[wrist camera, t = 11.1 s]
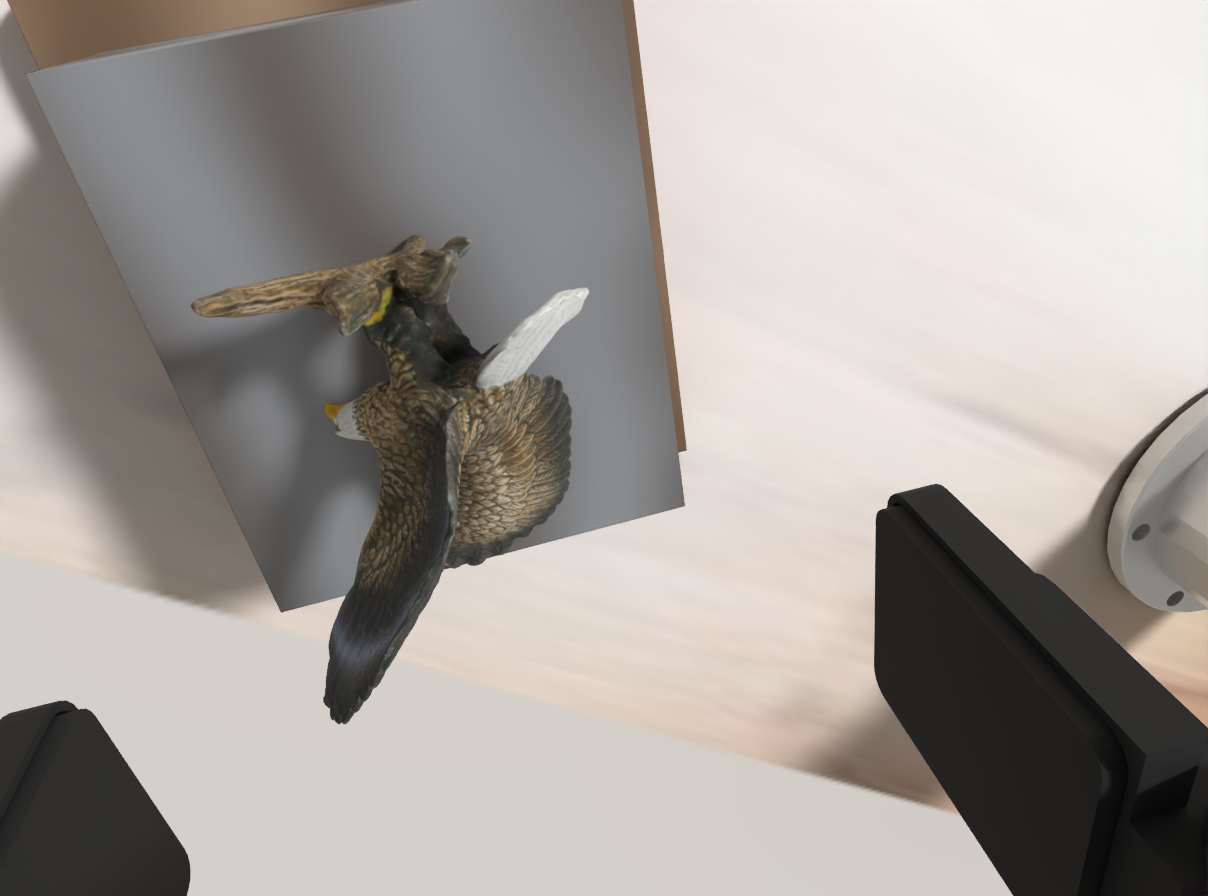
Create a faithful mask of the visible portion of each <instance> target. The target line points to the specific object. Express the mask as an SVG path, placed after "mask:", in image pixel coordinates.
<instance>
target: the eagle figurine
mask: <svg viewBox="0 0 1208 896" xmlns="http://www.w3.org/2000/svg"><path fill="white" fill-rule="evenodd" d="M425 246H426V240H425V238H424V237H422V236H420V235H412V236H410V237H409V239H408V240H407V242H406V244H405V246H404V247H403V248H402V249H401V250H400V251H398V252H396V253H393V254H389V255H385V256H379V257H375V258H371V259H369V260H366V261H362V262H359V263H356V264H352V265H348V266H342V267H332V268H325V269H319V270H313V271H308V272H303V273H298V274H294V275H289V276H285V277H280V278H275V279H271V280H267V281H262V282H258V283H253V284H249V285H244V286H239V287H233V288H228V289H225V290H222V291H219V292H217V293H214V294H211V295H209V296H205V297H202V298H199V299H197V300H195V301H194V302H192V303H191V306H190V307H191V308H192V310H193V311H194V312H195V313H196V314H198V315H199V316H202V317H205V318H212V317H225V318H242V317H249V316H256V315H262V314H265V313H281V312H288V311H290V310H293V309H295V308H300V307H311V308H314V309H320V310H324V311H325V312H327V313H329V314H330V315H332V316H334V317H335V318H336V319H337V320H339V332H340V334H341V335H342V336H343V337H348V336H350V335H351V334H352V333H353V332H355V331H357V330H358V329H359V328H360V327H361V326H362V328H363V330H364V331H365V334H366V336H367V339H368V341H369V342H370V343H371V344H372V345H374V346H375V347H377V348H378V349H379V350H380V351H381V352H383V354H384V355H385V356H386V362H387V367H388V369H389V372H390V379H388V380H385V381H382V382H380V383H378V384H376V385H374V386H372V387H370V388H368V389H367V390H366V391H365V392H364V393H363V394H362V395H361V396H360V397H358V398H357V399H355V400H354V401H351V402H347V403H345V404H343V405H333V404H331V403H328V402H327V403H325V404H324V411H325V413H326V414H327V415H328V417H329V418H330V419H331V420H332V421H333V422H334V423H335V424H336V428H335V433H336V434H337V435H338V436H341V437H344V438H348V439H354V440H366V441H370V442H371V444H372V445H373V446H374V448H375V449H376V451H377V453H378V456H379V459H380V484H381V487H380V497H379V503H378V508H377V512H376V515H375V518H374V521H373V523H372V526H371V528H370V530H369V532H368V534H367V536H366V538H365V541H364V543H363V546H362V548H361V552H360V556H359V560H358V566H357V571H356V576H355V581H354V585H353V586H352V587H351V589H350V590H349V592H348V593H347V595H346V597H345V599H344V601H343V603H342V605H341V607H340V610H339V613H338V615H337V618H336V620H335V622H334V625H333V628H332V631H331V635H330V640H329V654H330V660H329V663H328V669H327V677H326V689H325V696H324V698H323V699H324V703H325V705H326V706H327V707H328V708H330V716H331V719H332V720H335V721H336V722H337V723H338V724H341V723H343V724H346V723H347V722H348V721H349V720H350V719H351V717H352V716H353V714H354V713H356V712H357V711H359V709H360V708H361V706H362V704H363V702H365V701H366V700H367V699H368V698H369V696H370V695H371V692H372V690H373V689H374V688H375V687H377V686H378V685H379V683H380V682H381V680H382V678H383V676H384V674H385V671H386V670H387V668H388V667H389V666H390V664H391V663H392V661H393V659H394V658H395V656H396V655H397V653H398V651H399V649H400V648H401V646H402V644H403V642H404V640H405V639H406V637H407V636H408V634H409V633H410V631H411V630H412V628H413V627H414V625H415V623H416V621H417V619H418V616H419V614H420V613H421V612H422V610H423V609H424V608H425V606H426V605H427V603H428V601H429V599H430V597H431V595H432V592H433V590H434V588H435V587H436V585H437V584H438V582H439V579H440V576H441V573H442V572H443V569H444V567H445V565H446V566H448V567H450V568H454V569H455V568H457V567H459V566H461V565H462V564H463V563H467V564H469V565H471V566H476V565H479V564H481V563H483V562H484V561H485V560H486V559H487V557H488V556H490V555H491V554H494V555H503V554H505V553H506V552H507V551H508V550H509V548H510V547H511V546H512V544H513V542H514V539H515V537H527V536H529V535H530V534H531V532H532V529H533V527H534V526H537V525H541V524H543V523H545V522H546V521H547V519H548V517H549V516H551V515H552V514H553V513H554V511H555V509H556V505H558V504H560V503H561V502H562V500H563V498H564V492H566V491H567V490H568V488H569V481H568V478H569V477H570V469H571V462H570V461H569V460H568V459H569V458H570V456H571V448H570V446H571V442H572V438H571V436H570V434H569V432H570V430H571V426H572V419H571V415H572V407H571V406H570V404H569V398H568V396H567V395H566V394H565V393H564V392H563V385H562V382H561V381H560V380H559V379H554V377H553V376H552V375H547V376H546V377H544V378H543V379H542V378H541V377H540V376H539V375H537V374H531V375H530V376H527V373H526V370H527V369H528V367H529V366H530V365H531V364H532V363H533V361H534V360H535V359H536V358H537V356H538V355H539V354H540V353H541V351H542V350H543V349H544V348H545V346H546V345H547V344H548V342H549V341H550V340H551V339H552V337H553V336H554V335H555V333H556V332H557V331H558V330H559V328H560V327H561V326H563V325H564V324H566V323H567V322H568V321H570V320H571V319H572V318H573V317H575V316H576V315H577V314H578V313H579V312H580V311H581V308H582V306H583V303H584V300H585V299H586V297H587V295H588V294H589V290H588V288H587V287H586V288H576V289H573V290H565V291H561V292H558V293H556V294H554V295H553V296H551V297H550V298H549V299H547V301H546V302H545V303H544V304H543V305H542V306H541V307H539V308H538V309H537V310H536V311H534V312H533V313H532V314H531V315H529V316H528V317H527V318H525V319H523V320H521V321H520V322H519V323H518V324H517V325H516V326H515V327H514V328H513V329H512V330H511V331H510V332H509V333H508V335H507V336H506V337H505V338H504V339H503V340H502V341H501V342H500V343H498V344H495V345H493V346H492V347H491V348H489V349H488V350H487V351H486V352H484V353H483V354H481V353H480V352H479V351H478V350H476V349H475V348H473V347H472V346H471V344H470V340H469V338H468V337H467V336H466V335H464V334H463V332H462V330H461V329H460V327H459V326H458V325H457V324H456V323H455V321H454V319H453V318H452V316H451V315H450V314H449V312H448V309H447V302H448V301H449V294H450V288H451V286H452V283H453V281H454V279H455V277H456V276H457V273H458V268H459V264H460V259H461V258H462V257H463V256H464V255H465V254H466V253H467V251H468V250H469V249H470V247H471V246H472V240H471V239H469V238H467V237H464V236H457V237H454V238H452V239H450V240H449V241H448V242H447V243H446V244H445V246H444V247H443V248H442V249H439V250H432V249H428V250H425V251H423V250H424V248H425Z"/></svg>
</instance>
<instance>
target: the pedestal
mask: <svg viewBox="0 0 1208 896" xmlns="http://www.w3.org/2000/svg"><path fill="white" fill-rule="evenodd" d="M7 1H8V3H9V5H10V8H11V10H12V12H13V14H14V16H15V18H16V21H17V23H18V25H19V27H20V29H21V31H22V33H23V36H24V38H25V40H26V42H27V44H28V46H29V48H30V51H31V53H32V55H33V57H34V59H35V61H36V63H37V66H38V68H39V71H35V72H31V73H28V74H25V75H26V77H27V79H28V81H29V83H30V85H31V87H32V90H33V92H34V94H35V96H36V98H37V100H38V102H39V104H40V106H41V109H42V111H43V113H44V115H45V117H46V119H47V121H48V123H49V125H50V127H51V130H52V132H53V134H54V136H55V138H56V140H57V142H58V144H59V146H60V148H61V151H62V153H63V155H64V157H65V159H66V161H67V163H68V165H69V167H70V170H71V172H72V174H73V176H74V178H75V180H76V182H77V184H78V186H79V188H80V191H81V193H82V195H83V197H84V199H85V201H86V203H87V205H88V207H89V209H90V212H91V214H92V216H93V218H94V220H95V222H96V224H97V226H98V228H99V231H100V233H101V235H102V237H103V239H104V241H105V243H106V245H107V247H108V249H109V252H110V254H111V256H112V258H113V260H114V262H115V264H116V266H117V268H118V270H119V273H120V275H121V277H122V279H123V281H124V283H125V285H126V287H127V289H128V292H129V294H130V296H131V298H132V300H133V302H134V304H135V306H136V308H137V310H138V313H139V315H140V317H141V319H142V321H143V323H144V325H145V327H146V329H147V331H148V334H149V336H150V338H151V340H152V342H153V344H154V346H155V348H156V350H157V353H158V355H159V357H160V359H161V361H162V363H163V365H164V367H165V369H166V371H167V374H168V376H169V378H170V380H171V382H172V384H173V386H174V388H175V390H176V392H177V395H178V397H179V399H180V401H181V403H182V405H183V407H184V409H185V411H186V414H187V416H188V418H189V420H190V422H191V424H192V426H193V428H194V430H195V432H196V435H197V437H198V439H199V441H200V443H201V445H202V447H203V449H204V451H205V454H206V456H207V458H208V460H209V462H210V464H211V466H212V468H213V470H214V472H215V475H216V477H217V479H218V481H219V483H220V485H221V487H222V489H223V491H224V493H225V496H226V498H227V500H228V502H229V504H230V506H231V508H232V510H233V512H234V515H235V517H236V519H237V521H238V523H239V525H240V527H241V529H242V531H243V533H244V536H245V538H246V540H247V542H248V544H249V546H250V548H251V550H252V552H253V554H254V557H255V559H256V561H257V563H258V565H259V567H260V569H261V571H262V573H263V576H264V578H265V580H266V582H267V584H268V586H269V588H270V590H271V592H272V594H273V597H274V599H275V601H276V603H277V605H278V607H279V609H280V611H281V612H285V611H288V610H292V609H296V608H300V607H304V606H307V605H311V604H315V603H319V602H323V601H326V600H330V599H334V598H338V597H342V596H345V595H347V593H348V592H349V590H350V589H351V587H352V586H353V585H354V581H355V576H356V571H357V566H358V560H359V556H360V552H361V548H362V546H363V543H364V541H365V538H366V536H367V534H368V532H369V530H370V528H371V526H372V523H373V521H374V518H375V515H376V512H377V508H378V503H379V497H380V487H381V484H380V459H379V456H378V453H377V451H376V449H375V448H374V446H373V445H372V444H371V442H370V441H366V440H354V439H348V438H344V437H341V436H338V435H337V434H336V433H335V428H336V424H335V423H334V422H333V421H332V420H331V419H330V418H329V417H328V415H327V414H326V413H325V411H324V404H325V403H327V402H328V403H331V404H333V405H343V404H345V403H347V402H351V401H354V400H355V399H357V398H358V397H360V396H361V395H362V394H363V393H364V392H365V391H366V390H367V389H368V388H370V387H372V386H374V385H376V384H378V383H380V382H382V381H385V380H388V379H390V372H389V369H388V367H387V362H386V356H385V355H384V354H383V352H381V351H380V350H379V349H378V348H377V347H375V346H374V345H372V344H371V343H370V342H369V341H368V339H367V336H366V334H365V331H364V330H363V328H362V326H361V327H360V328H359V329H358V330H357V331H355V332H353V333H352V334H351V335H350V336H348V337H343V336H342V335H341V334H340V332H339V320H337V319H336V318H335V317H334V316H332V315H330V314H329V313H327V312H325V311H324V310H320V309H314V308H311V307H300V308H295V309H293V310H290V311H288V312H281V313H265V314H262V315H256V316H249V317H242V318H225V317H212V318H205V317H202V316H199V315H198V314H196V313H195V312H194V311H193V310H192V308H191V307H190V306H191V303H192V302H194V301H195V300H197V299H199V298H202V297H205V296H209V295H211V294H214V293H217V292H219V291H222V290H225V289H228V288H233V287H239V286H244V285H249V284H253V283H258V282H262V281H267V280H271V279H275V278H280V277H285V276H289V275H294V274H298V273H303V272H308V271H313V270H319V269H325V268H332V267H342V266H348V265H352V264H356V263H359V262H362V261H366V260H369V259H371V258H375V257H379V256H385V255H389V254H393V253H396V252H398V251H400V250H401V249H402V248H403V247H404V246H405V244H406V242H407V240H408V239H409V237H410V236H412V235H420V236H422V237H424V238H425V240H426V246H425V248H424V250H423V251H425V250H428V249H432V250H439V249H442V248H443V247H444V246H445V244H446V243H447V242H448V241H449V240H450V239H452V238H454V237H457V236H464V237H467V238H469V239H471V240H472V246H471V247H470V249H469V250H468V251H467V253H466V254H465V255H464V256H463V257H462V258H461V259H460V264H459V268H458V273H457V276H456V277H455V279H454V281H453V283H452V286H451V288H450V294H449V301H448V302H447V309H448V312H449V314H450V315H451V316H452V318H453V319H454V321H455V323H456V324H457V325H458V326H459V327H460V329H461V330H462V332H463V334H464V335H466V336H467V337H468V338H469V340H470V344H471V346H472V347H473V348H475V349H476V350H478V351H479V352H480V353H481V354H483V353H484V352H486V351H487V350H488V349H489V348H491V347H492V346H493V345H495V344H498V343H500V342H501V341H502V340H503V339H504V338H505V337H506V336H507V335H508V333H509V332H510V331H511V330H512V329H513V328H514V327H515V326H516V325H517V324H518V323H519V322H520V321H521V320H523V319H525V318H527V317H528V316H529V315H531V314H532V313H533V312H534V311H536V310H537V309H538V308H539V307H541V306H542V305H543V304H544V303H545V302H546V301H547V299H549V298H550V297H551V296H553V295H554V294H556V293H558V292H561V291H565V290H573V289H576V288H586V287H587V288H588V290H589V294H588V295H587V297H586V299H585V300H584V303H583V306H582V308H581V311H580V312H579V313H578V314H577V315H576V316H575V317H573V318H572V319H571V320H570V321H568V322H567V323H566V324H564V325H563V326H561V327H560V328H559V330H558V331H557V332H556V333H555V335H554V336H553V337H552V339H551V340H550V341H549V342H548V344H547V345H546V346H545V348H544V349H543V350H542V351H541V353H540V354H539V355H538V356H537V358H536V359H535V360H534V361H533V363H532V364H531V365H530V366H529V367H528V369H527V370H526V373H527V376H530V375H531V374H537V375H539V376H540V377H541V378H542V379H543V378H544V377H546V376H547V375H552V376H553V377H554V379H559V380H560V381H561V382H562V385H563V392H564V393H565V394H566V395H567V396H568V398H569V404H570V406H571V407H572V415H571V419H572V426H571V430H570V432H569V434H570V436H571V438H572V442H571V446H570V448H571V456H570V458H569V459H568V460H569V461H570V462H571V469H570V477H569V478H568V481H569V488H568V490H567V491H566V492H564V498H563V500H562V502H561V503H560V504H558V505H556V509H555V511H554V513H553V514H552V515H551V516H549V517H548V519H547V521H546V522H545V523H543V524H541V525H537V526H534V527H533V529H532V532H531V534H530V535H529V536H527V537H515V539H514V542H513V544H512V546H511V547H510V548H509V550H508V551H507V552H506V553H509V552H512V551H516V550H520V549H524V548H528V547H531V546H535V545H539V544H543V543H546V542H550V541H554V540H558V539H562V538H565V537H569V536H573V535H577V534H581V533H584V532H588V531H592V530H596V529H600V528H603V527H607V526H611V525H615V524H619V523H622V522H626V521H630V520H634V519H638V518H641V517H645V516H649V515H653V514H657V513H660V512H664V511H668V510H672V509H676V508H679V507H683V506H685V503H684V495H683V487H682V479H681V471H680V463H679V455H678V452H682V451H686V450H687V449H686V441H685V432H684V424H683V416H682V407H681V399H680V390H679V382H678V373H677V365H676V357H675V348H674V340H673V331H672V323H671V314H670V306H669V298H668V289H667V281H666V272H665V264H664V255H663V247H662V239H661V230H660V222H659V213H658V205H657V196H656V188H655V180H654V171H653V163H652V154H651V146H650V137H649V129H648V121H647V112H646V104H645V95H644V87H643V78H642V70H641V62H640V53H639V45H638V36H637V28H636V19H635V11H634V3H633V0H7ZM493 556H497V555H494V554H491V555H490V556H488V557H487V558H490V557H493ZM463 564H467V563H463ZM463 564H462V565H463ZM448 568H450V567H448V566H446V565H445V567H444V569H448ZM444 569H443V570H444Z"/></svg>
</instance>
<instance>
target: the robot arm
mask: <svg viewBox="0 0 1208 896" xmlns="http://www.w3.org/2000/svg"><path fill="white" fill-rule="evenodd" d="M1107 552H1108V557H1109V562H1110V566H1111V569H1112V571H1113V573H1114V574H1115V576H1116V578H1117V580H1118V581H1119V583H1121V584H1122V585H1123V586H1124V587H1125V588H1126V589H1127V590H1128V591H1130V592H1131V593H1132V594H1133V595H1134V596H1135V597H1136V598H1137V599H1139V600H1141V601H1142V602H1144V603H1145V604H1147V605H1149V606H1150V607H1153V608H1156V609H1159V610H1162V611H1168V612H1192V611H1199V610H1206V609H1208V394H1206V395H1205V396H1203V397H1202V398H1201V399H1200V400H1198V401H1197V402H1196V403H1194V404H1193V405H1192V406H1191V407H1189V408H1188V409H1187V410H1185V411H1184V412H1183V413H1182V414H1180V415H1179V416H1178V417H1177V418H1176V419H1175V420H1174V421H1173V422H1172V423H1171V424H1170V425H1169V426H1168V427H1167V428H1166V429H1165V430H1164V431H1163V432H1162V433H1161V434H1160V435H1159V436H1158V437H1157V438H1156V439H1155V441H1154V442H1153V443H1152V444H1151V446H1150V447H1149V448H1148V449H1147V451H1146V452H1145V453H1144V454H1143V456H1142V457H1141V458H1140V459H1139V461H1138V462H1137V464H1136V466H1135V467H1134V469H1133V470H1132V472H1131V474H1130V475H1129V477H1128V478H1127V480H1126V482H1125V483H1124V485H1123V488H1122V490H1121V492H1120V494H1119V497H1118V499H1117V501H1116V503H1115V506H1114V509H1113V513H1112V517H1111V521H1110V525H1109V528H1108V543H1107ZM874 669H875V675H876V680H877V683H878V686H879V688H880V690H881V693H882V695H883V696H884V698H885V700H886V701H887V703H888V704H889V706H890V707H891V709H892V710H893V712H894V713H895V715H896V717H897V718H898V720H899V721H900V723H901V724H902V726H903V727H904V729H905V730H906V732H907V733H908V735H909V736H910V738H911V740H912V741H913V743H914V744H915V746H916V747H917V749H918V750H919V752H920V753H921V755H922V756H923V758H924V759H925V761H926V763H927V764H928V766H929V767H930V769H931V770H932V772H933V773H934V775H935V776H936V778H937V779H938V781H939V782H940V784H941V786H942V787H943V789H944V790H945V792H946V793H947V795H948V796H949V798H950V799H951V801H952V802H953V804H954V805H955V807H956V808H957V810H958V812H959V813H960V815H961V816H962V818H963V819H964V821H965V822H966V824H967V825H968V827H969V828H970V830H971V831H972V833H973V835H974V836H975V837H976V839H977V841H978V842H979V844H980V845H981V847H982V848H983V850H984V851H985V853H986V854H987V856H988V858H989V859H990V861H991V862H992V864H993V865H994V867H995V868H996V870H997V871H998V873H999V874H1000V876H1001V877H1002V879H1003V880H1004V882H1005V884H1006V885H1007V887H1008V888H1009V890H1010V891H1011V893H1012V894H1013V896H1208V728H1207V727H1206V726H1205V725H1204V724H1203V723H1202V722H1201V721H1200V720H1199V719H1198V718H1197V717H1196V716H1194V715H1193V714H1192V713H1191V712H1190V711H1189V710H1188V709H1187V708H1186V707H1185V706H1184V705H1183V704H1182V703H1181V702H1180V701H1179V700H1177V699H1176V698H1175V697H1174V696H1173V695H1172V694H1171V693H1170V692H1169V691H1168V690H1167V689H1166V688H1165V687H1164V686H1163V685H1162V684H1160V683H1159V682H1158V681H1157V680H1156V679H1155V678H1154V677H1153V676H1152V675H1151V674H1150V673H1149V672H1148V671H1147V670H1146V669H1144V668H1143V667H1142V666H1141V665H1140V664H1139V663H1138V662H1137V661H1136V660H1135V659H1134V658H1133V657H1132V656H1131V655H1130V654H1129V653H1127V652H1126V651H1125V650H1124V649H1123V648H1122V647H1121V646H1120V645H1119V644H1118V643H1117V642H1116V641H1115V640H1114V639H1113V638H1112V637H1110V636H1109V635H1108V634H1107V633H1106V632H1105V631H1104V630H1103V629H1102V628H1101V627H1100V626H1099V625H1098V624H1097V623H1096V622H1095V621H1093V620H1092V619H1091V618H1090V617H1089V616H1088V615H1087V614H1086V613H1085V612H1084V611H1083V610H1082V609H1081V608H1080V607H1079V606H1078V605H1076V604H1075V603H1074V602H1073V601H1072V600H1071V599H1070V598H1069V597H1068V596H1067V595H1066V594H1065V593H1064V592H1063V591H1062V590H1061V589H1059V588H1058V587H1057V586H1056V585H1055V584H1054V583H1053V582H1051V581H1050V580H1049V579H1047V578H1046V577H1045V576H1043V575H1040V574H1037V573H1034V572H1033V571H1032V570H1031V569H1030V568H1029V567H1028V566H1027V565H1026V564H1025V563H1024V562H1023V561H1022V560H1021V559H1020V558H1018V557H1017V556H1016V555H1015V554H1014V553H1013V552H1012V551H1011V550H1010V549H1009V548H1008V547H1007V546H1006V545H1005V544H1004V543H1003V542H1002V541H1001V540H1000V539H999V538H998V537H996V536H995V535H994V534H993V533H992V532H991V531H990V530H989V529H988V528H987V527H986V526H985V525H984V524H983V523H982V522H981V521H980V520H979V519H978V518H977V517H975V516H974V515H973V514H972V513H971V512H970V511H969V510H968V509H967V508H966V507H965V506H964V505H963V504H962V503H961V502H960V501H959V500H958V499H957V498H956V497H955V496H953V495H952V494H951V493H950V492H949V491H948V490H947V489H946V488H945V487H943V486H942V485H939V484H933V485H929V486H925V487H921V488H917V489H913V490H909V491H905V492H901V493H897V494H894V495H892V496H890V498H889V500H888V505H887V508H886V509H882V510H880V511H878V513H877V516H876V558H875V644H874ZM189 882H190V863H189V859H188V855H187V853H186V851H185V849H184V848H183V846H182V845H181V843H180V842H179V840H178V839H177V837H176V836H175V834H174V833H173V831H172V830H171V828H170V827H169V825H168V824H167V823H166V821H165V819H164V818H163V816H162V815H161V813H160V812H159V810H158V809H157V807H156V806H155V804H154V803H153V802H152V800H151V799H150V797H149V795H148V794H147V792H146V791H145V789H144V788H143V787H142V785H141V784H140V782H139V781H138V779H137V778H136V776H135V775H134V773H133V772H132V770H131V769H130V767H129V766H128V764H127V763H126V761H125V760H124V758H123V757H122V755H121V754H120V752H119V751H118V749H117V748H116V746H115V745H114V743H113V742H112V740H111V739H110V737H109V736H108V734H107V733H106V731H105V730H104V728H103V727H102V725H101V724H100V722H99V721H98V719H97V718H96V716H95V715H94V714H93V713H92V712H91V711H89V710H87V709H80V710H78V709H77V708H76V707H75V705H74V704H72V703H70V702H68V701H58V702H53V703H49V704H45V705H41V706H37V707H33V708H29V709H25V710H21V711H17V712H13V713H9V714H8V715H6V716H4V717H2V719H1V720H0V896H187V892H188V888H189Z"/></svg>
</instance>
